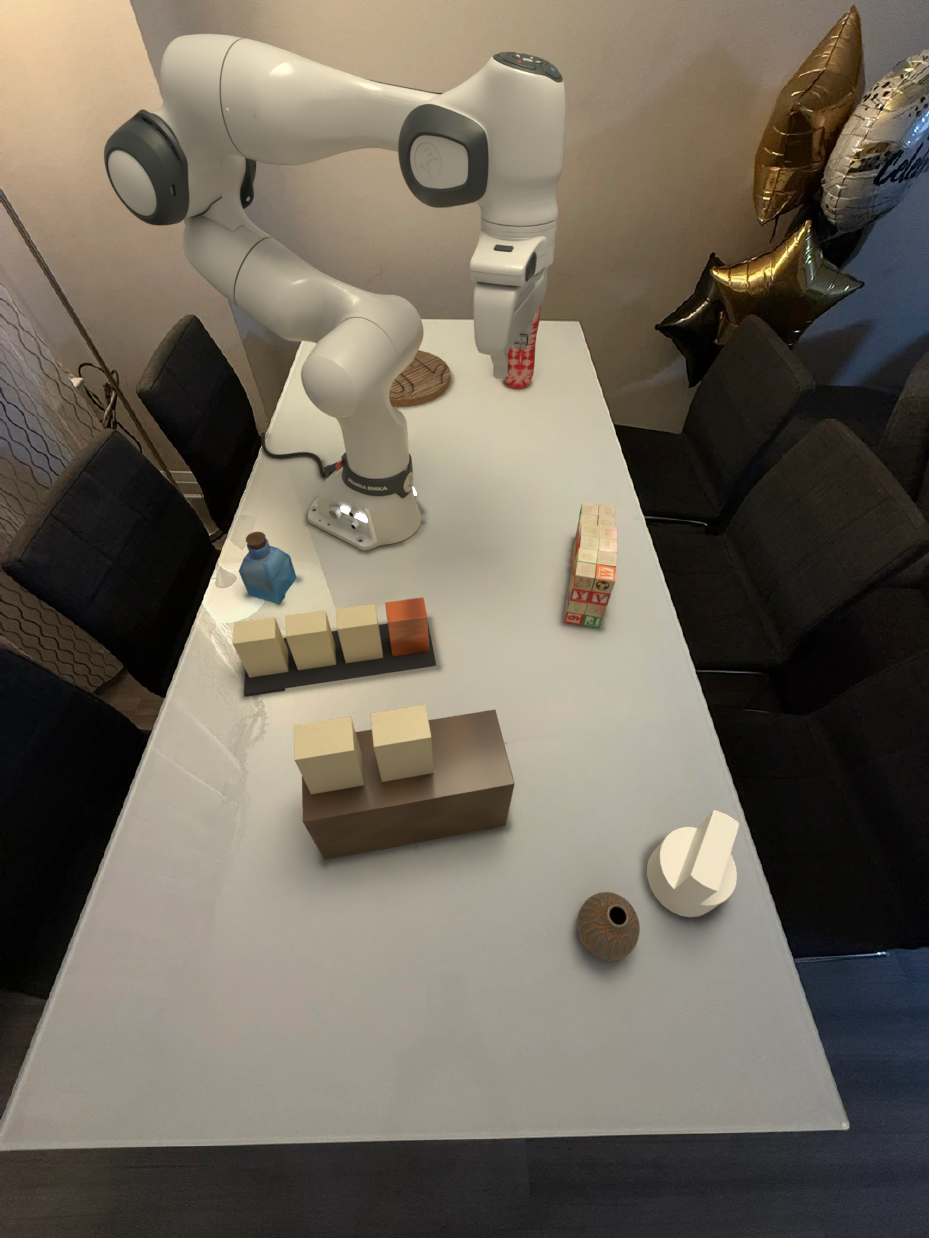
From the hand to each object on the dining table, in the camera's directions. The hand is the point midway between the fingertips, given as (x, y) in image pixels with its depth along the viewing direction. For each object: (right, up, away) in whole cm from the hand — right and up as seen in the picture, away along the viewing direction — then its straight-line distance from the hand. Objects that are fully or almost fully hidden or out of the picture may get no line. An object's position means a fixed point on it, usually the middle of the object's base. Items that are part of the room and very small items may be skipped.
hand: (511, 361), depth 79 cm
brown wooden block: (-14, -61, 0) cm, 62 cm away
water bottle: (+7, +26, +71) cm, 76 cm away
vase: (+10, -73, -9) cm, 74 cm away
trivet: (-23, +26, +70) cm, 78 cm away
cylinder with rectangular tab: (+21, -68, -5) cm, 72 cm away
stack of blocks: (+16, -28, +27) cm, 42 cm away
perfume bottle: (-41, -30, +25) cm, 56 cm away
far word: (-27, -41, +16) cm, 51 cm away
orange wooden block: (-16, -39, +17) cm, 45 cm away
